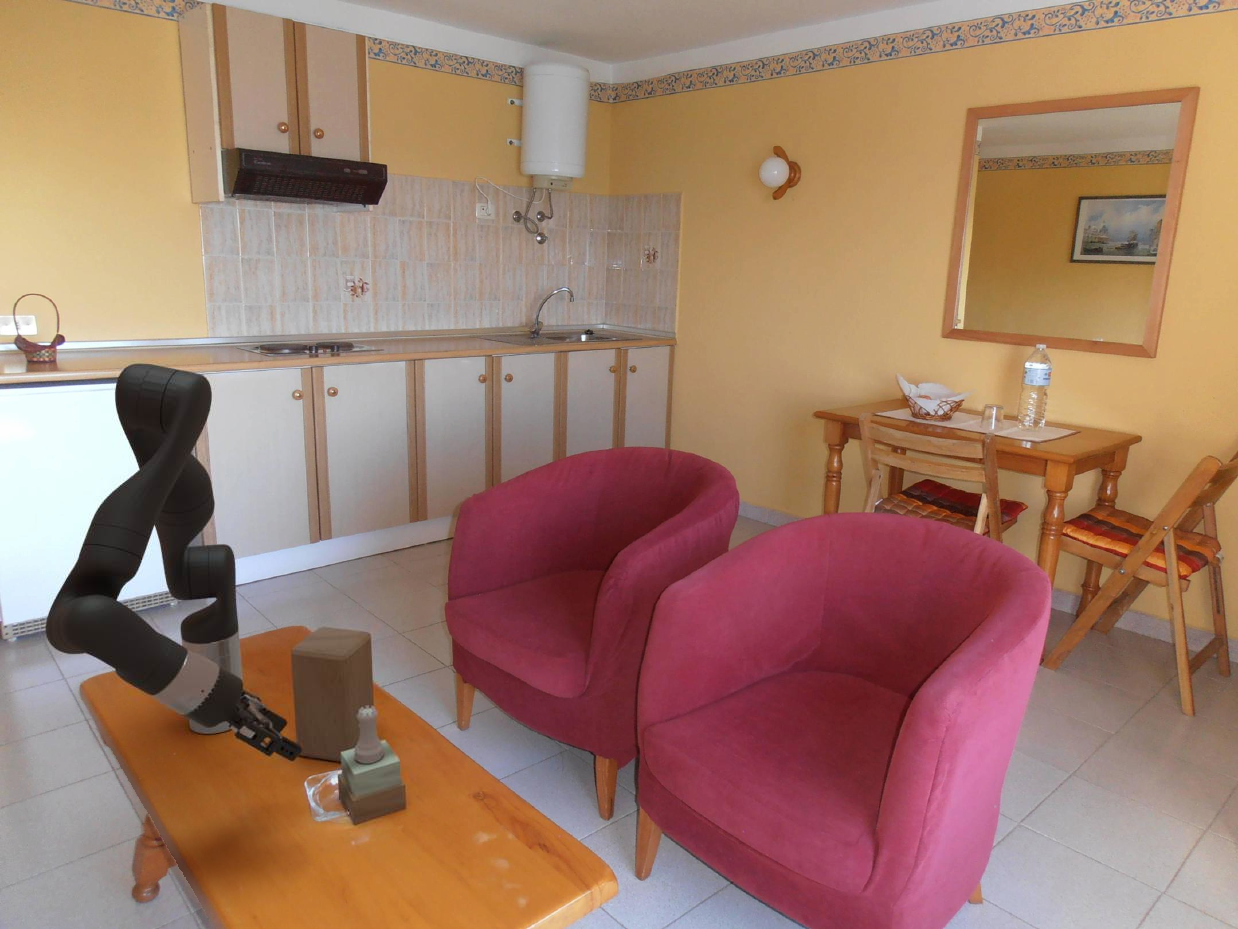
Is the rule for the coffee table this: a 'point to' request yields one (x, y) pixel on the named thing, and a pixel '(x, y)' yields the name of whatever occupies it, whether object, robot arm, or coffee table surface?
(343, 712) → the block
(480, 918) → the coffee table surface
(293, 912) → the coffee table surface
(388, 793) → the tower base
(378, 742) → the rook chess piece
